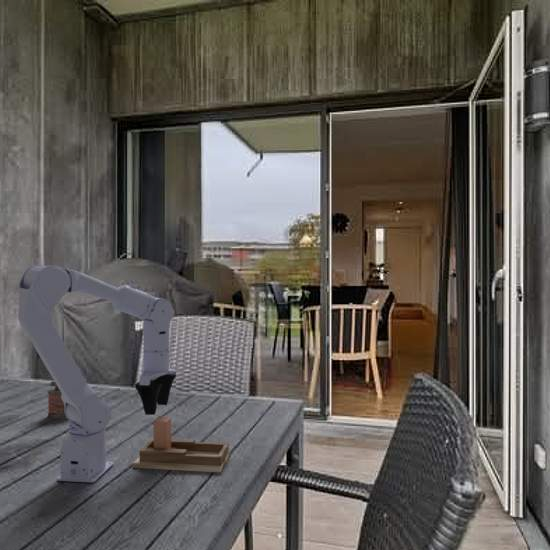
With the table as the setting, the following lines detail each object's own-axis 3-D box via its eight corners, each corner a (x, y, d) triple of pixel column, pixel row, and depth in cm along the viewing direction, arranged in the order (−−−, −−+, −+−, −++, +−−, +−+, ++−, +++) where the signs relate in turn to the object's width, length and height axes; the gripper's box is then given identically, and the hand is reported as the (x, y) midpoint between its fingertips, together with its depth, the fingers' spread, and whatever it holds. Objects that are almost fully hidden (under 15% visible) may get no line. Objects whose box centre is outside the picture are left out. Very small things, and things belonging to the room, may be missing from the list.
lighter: (79, 414, 147) (79, 379, 146) (75, 417, 143) (74, 382, 143) (50, 414, 147) (50, 379, 146) (45, 418, 143) (45, 382, 143)
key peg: (169, 460, 111) (169, 423, 111) (147, 459, 111) (147, 422, 111) (176, 451, 116) (176, 416, 116) (155, 450, 116) (155, 415, 116)
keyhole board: (220, 472, 107) (220, 456, 107) (132, 467, 109) (132, 451, 109) (230, 454, 117) (230, 439, 117) (149, 450, 119) (149, 435, 119)
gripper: (161, 356, 110) (162, 419, 110) (183, 345, 124) (183, 401, 124) (130, 355, 111) (130, 418, 111) (155, 344, 125) (155, 400, 125)
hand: (156, 409), depth 118 cm, fingers open, 7 cm apart
